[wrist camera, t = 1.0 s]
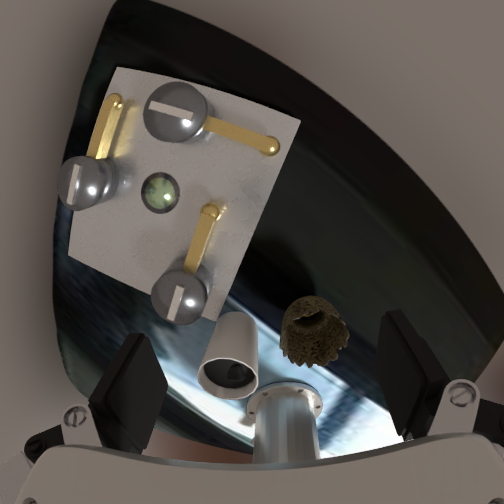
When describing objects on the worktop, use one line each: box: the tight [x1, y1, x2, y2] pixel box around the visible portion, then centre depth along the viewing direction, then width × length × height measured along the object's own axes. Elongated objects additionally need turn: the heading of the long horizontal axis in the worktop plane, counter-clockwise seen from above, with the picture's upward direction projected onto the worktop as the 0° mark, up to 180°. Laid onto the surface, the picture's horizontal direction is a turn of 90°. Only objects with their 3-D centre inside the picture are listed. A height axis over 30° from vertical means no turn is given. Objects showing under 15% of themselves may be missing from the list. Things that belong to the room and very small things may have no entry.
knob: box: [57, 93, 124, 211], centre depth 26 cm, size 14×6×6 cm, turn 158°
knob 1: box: [143, 81, 281, 157], centre depth 25 cm, size 14×6×6 cm, turn 68°
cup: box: [280, 296, 349, 368], centre depth 32 cm, size 8×7×8 cm
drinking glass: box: [197, 312, 258, 400], centre depth 33 cm, size 7×7×10 cm
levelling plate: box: [68, 67, 301, 322], centre depth 31 cm, size 26×23×2 cm
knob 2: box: [151, 202, 221, 325], centre depth 30 cm, size 14×6×6 cm, turn 158°
